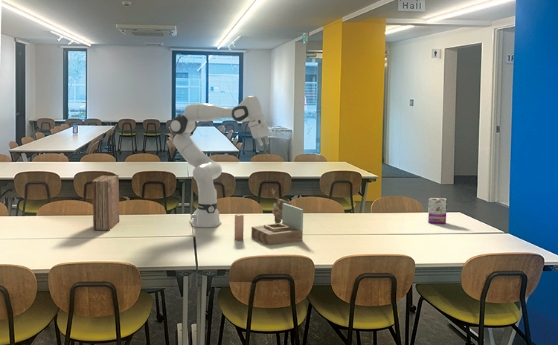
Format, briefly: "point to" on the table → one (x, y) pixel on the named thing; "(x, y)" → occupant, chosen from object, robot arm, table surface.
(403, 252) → the table surface
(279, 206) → the brown figurine
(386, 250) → the table surface
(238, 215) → the light brown tall block
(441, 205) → the candy bar box
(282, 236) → the display plinth
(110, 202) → the book
